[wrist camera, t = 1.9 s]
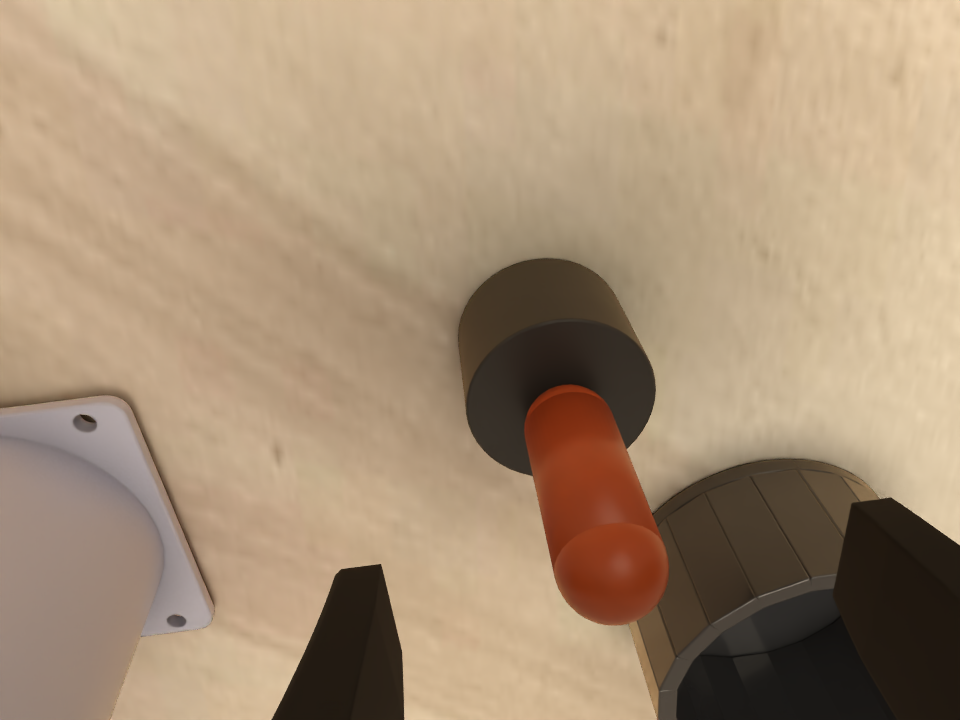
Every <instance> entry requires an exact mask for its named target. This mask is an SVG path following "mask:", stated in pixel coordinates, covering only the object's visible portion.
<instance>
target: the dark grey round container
mask: <svg viewBox="0 0 960 720" xmlns="http://www.w3.org/2000/svg"><path fill="white" fill-rule="evenodd" d="M877 499H879V497H878V496H877V495H876V493H875V492H874V491H873V490H872V489H871V488H870V487H869V486H868V485H867V484H866V483H865V482H864V481H863V480H861V479H859V478H858V477H856V476H855V475H853V474H852V473H850V472H847V471H845V470H843V469H841V468H838V467H836V466H833V465H829V464H825V463H822V462H817V461H810V460H802V459H779V460H766V461H761V462H755V463H750V464H745V465H741V466H738V467H734V468H731V469H727V470H725V471H722V472H720V473H717V474H715V475H712V476H709V477H707V478H705V479H703V480H701V481H699V482H697V483H695V484H693V485H692V486H690V487H688V488H687V489H685V490H684V491H682V492H680V493H679V494H677V495H676V496H674V497H673V498H672V499H671V500H669V501H668V502H667V503H665V504H664V505H663V506H662V507H661V508H660V509H658V510H657V511H656V512H655V513H654V514H653V518H654V520H655V523H656V525H657V528H658V530H659V533H660V535H661V538H662V540H663V543H664V545H665V548H666V552H667V556H668V561H669V577H668V583H667V586H666V589H665V592H664V594H663V596H662V598H661V599H660V601H659V602H658V604H657V605H656V606H655V608H654V609H653V610H652V611H651V612H650V613H648V614H647V615H645V616H644V617H642V618H641V619H639V620H637V621H635V622H632V623H629V627H630V631H631V634H632V637H633V640H634V644H635V647H636V650H637V654H638V657H639V660H640V664H641V667H642V670H643V674H644V677H645V680H646V683H647V687H648V690H649V693H650V697H651V700H652V703H653V707H654V710H655V713H656V716H657V720H897V719H896V717H895V715H894V714H893V712H892V711H891V709H890V707H889V706H888V704H887V702H886V701H885V699H884V697H883V696H882V694H881V692H880V691H879V689H878V687H877V686H876V684H875V682H874V681H873V679H872V677H871V675H870V674H869V672H868V670H867V669H866V667H865V665H864V663H863V662H862V660H861V658H860V656H859V654H858V652H857V650H856V647H855V645H854V643H853V641H852V639H851V637H850V635H849V633H848V630H847V628H846V626H845V623H844V621H843V619H842V617H841V614H840V612H839V610H838V607H837V605H836V603H835V600H834V598H833V596H832V595H833V590H834V585H835V580H836V576H837V571H838V566H839V561H840V556H841V551H842V547H843V542H844V537H845V532H846V527H847V522H848V518H849V513H850V508H851V503H854V502H862V501H869V500H877Z"/></svg>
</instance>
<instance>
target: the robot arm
mask: <svg viewBox="0 0 960 720" xmlns="http://www.w3.org/2000/svg"><path fill="white" fill-rule="evenodd" d="M80 414H83V415H88V416H90V417H92V418H93V419H94V420H95V421H96V423H92V422H87V421H85V420H83V419H82V417H81V416H80ZM832 596H833V598H834V600H835V603H836V605H837V607H838V610H839V612H840V614H841V617H842V619H843V621H844V623H845V626H846V628H847V630H848V633H849V635H850V637H851V639H852V641H853V643H854V645H855V647H856V650H857V652H858V654H859V656H860V658H861V660H862V662H863V663H864V665H865V667H866V669H867V670H868V672H869V674H870V675H871V677H872V679H873V681H874V682H875V684H876V686H877V687H878V689H879V691H880V692H881V694H882V696H883V697H884V699H885V701H886V702H887V704H888V706H889V707H890V709H891V711H892V712H893V714H894V715H895V717H896V719H897V720H960V545H958V544H957V543H956V542H954V541H953V540H951V539H950V538H948V537H947V536H946V535H944V534H943V533H941V532H940V531H939V530H937V529H936V528H934V527H933V526H932V525H930V524H929V523H927V522H926V521H924V520H923V519H922V518H920V517H919V516H917V515H916V514H914V513H913V512H912V511H910V510H909V509H907V508H906V507H904V506H903V505H901V504H900V503H898V502H897V501H895V500H894V499H892V498H885V499H877V500H869V501H862V502H854V503H851V508H850V513H849V518H848V522H847V527H846V532H845V537H844V542H843V547H842V551H841V556H840V561H839V566H838V571H837V576H836V580H835V585H834V590H833V595H832ZM214 612H215V610H214V605H213V603H212V600H211V598H210V596H209V593H208V591H207V588H206V586H205V584H204V581H203V579H202V576H201V574H200V572H199V569H198V567H197V565H196V562H195V560H194V557H193V555H192V553H191V550H190V548H189V545H188V543H187V541H186V538H185V536H184V533H183V531H182V529H181V526H180V524H179V521H178V519H177V517H176V514H175V512H174V510H173V507H172V505H171V502H170V500H169V498H168V495H167V493H166V490H165V488H164V486H163V483H162V481H161V478H160V476H159V474H158V471H157V469H156V466H155V464H154V462H153V459H152V457H151V455H150V452H149V450H148V447H147V445H146V443H145V440H144V438H143V435H142V433H141V431H140V428H139V426H138V423H137V421H136V419H135V416H134V414H133V411H132V409H131V408H130V406H129V405H128V403H126V402H125V401H123V400H122V399H121V398H118V397H115V396H112V395H101V396H93V397H86V398H78V399H70V400H62V401H54V402H47V403H39V404H31V405H23V406H15V407H7V408H0V720H110V718H111V715H112V713H113V710H114V707H115V705H116V702H117V699H118V696H119V694H120V691H121V688H122V685H123V683H124V680H125V677H126V674H127V672H128V669H129V666H130V663H131V661H132V658H133V655H134V653H135V650H136V647H137V644H138V642H139V639H140V637H144V636H151V635H159V634H166V633H174V632H181V631H189V630H196V629H201V628H205V627H207V626H208V625H209V624H210V623H211V621H212V619H213V616H214ZM177 615H180V616H177ZM272 720H404V693H403V663H402V650H401V645H400V641H399V637H398V633H397V629H396V624H395V620H394V616H393V612H392V608H391V604H390V599H389V595H388V591H387V587H386V583H385V578H384V574H383V570H382V566H381V564H378V565H370V566H362V567H355V568H347V569H341V570H340V571H339V572H338V573H337V574H336V575H335V577H334V580H333V583H332V586H331V589H330V592H329V594H328V597H327V600H326V602H325V605H324V608H323V610H322V613H321V615H320V618H319V620H318V622H317V625H316V627H315V629H314V632H313V634H312V636H311V639H310V641H309V643H308V646H307V648H306V650H305V652H304V655H303V657H302V659H301V661H300V663H299V665H298V667H297V669H296V671H295V673H294V676H293V678H292V680H291V682H290V684H289V686H288V688H287V690H286V692H285V694H284V696H283V699H282V701H281V702H280V704H279V706H278V708H277V710H276V712H275V714H274V716H273V718H272Z"/></svg>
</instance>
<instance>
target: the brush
mask: <svg viewBox="0 0 960 720" xmlns="http://www.w3.org/2000/svg"><path fill="white" fill-rule="evenodd" d="M458 342H459V353H460V362H461V371H462V380H463V389H464V398H465V407H466V415H467V420H468V424H469V427H470V430H471V432H472V434H473V436H474V438H475V439H476V441H477V443H478V444H479V445H480V446H481V448H482V449H483V450H484V451H485V452H486V453H487V454H488V455H489V456H490V457H491V458H493V459H494V460H495V461H497V462H498V463H500V464H501V465H503V466H505V467H507V468H509V469H511V470H514V471H517V472H519V473H523V474H527V475H531V476H533V478H534V483H535V488H536V492H537V497H538V501H539V506H540V511H541V515H542V520H543V525H544V529H545V534H546V539H547V543H548V548H549V553H550V557H551V562H552V567H553V571H554V576H555V580H556V583H557V586H558V588H559V590H560V592H561V594H562V596H563V597H564V599H565V600H566V602H567V603H568V604H569V605H570V606H571V607H572V608H573V609H574V610H575V611H576V612H577V613H578V614H580V615H581V616H583V617H584V618H586V619H588V620H591V621H593V622H595V623H598V624H603V625H624V624H629V623H632V622H635V621H637V620H639V619H641V618H642V617H644V616H645V615H647V614H648V613H650V612H651V611H652V610H653V609H654V608H655V606H656V605H657V604H658V602H659V601H660V599H661V598H662V596H663V594H664V592H665V589H666V586H667V583H668V577H669V561H668V556H667V552H666V548H665V545H664V543H663V540H662V538H661V535H660V533H659V530H658V528H657V525H656V523H655V520H654V518H653V515H652V513H651V510H650V508H649V505H648V502H647V500H646V497H645V495H644V492H643V490H642V487H641V485H640V482H639V480H638V477H637V475H636V472H635V470H634V467H633V465H632V462H631V459H630V457H629V454H628V452H627V448H628V447H629V446H630V445H631V444H632V443H633V442H634V441H635V440H636V439H637V437H638V436H639V435H640V433H641V432H642V431H643V429H644V427H645V425H646V424H647V422H648V420H649V417H650V415H651V412H652V409H653V405H654V401H655V392H656V386H655V377H654V372H653V369H652V366H651V364H650V361H649V359H648V357H647V355H646V353H645V351H644V349H643V347H642V345H641V344H640V342H639V340H638V338H637V336H636V334H635V332H634V330H633V328H632V326H631V324H630V322H629V320H628V319H627V317H626V315H625V313H624V311H623V309H622V307H621V305H620V303H619V301H618V299H617V297H616V296H615V294H614V292H613V291H612V289H611V288H610V287H609V285H608V284H607V283H606V282H605V281H604V280H603V279H602V278H601V277H600V276H598V275H597V274H596V273H594V272H593V271H591V270H590V269H588V268H586V267H584V266H582V265H579V264H576V263H573V262H570V261H565V260H560V259H535V260H529V261H524V262H521V263H518V264H515V265H512V266H510V267H508V268H505V269H503V270H502V271H500V272H498V273H497V274H495V275H493V276H492V277H491V278H490V279H488V280H487V281H486V282H484V284H483V285H482V286H481V287H480V288H479V289H478V290H477V291H476V292H475V293H474V295H473V296H472V297H471V299H470V300H469V302H468V304H467V305H466V307H465V309H464V312H463V314H462V317H461V321H460V325H459V333H458Z"/></svg>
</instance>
